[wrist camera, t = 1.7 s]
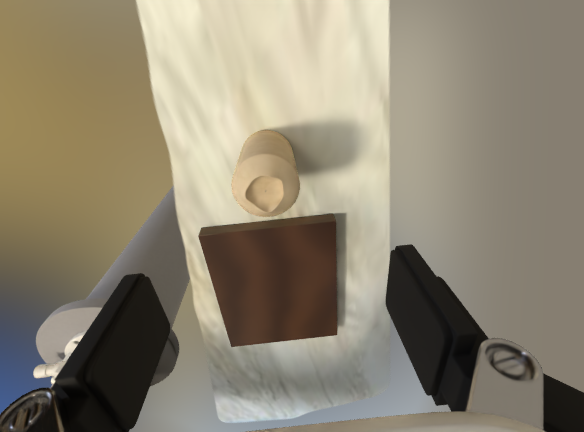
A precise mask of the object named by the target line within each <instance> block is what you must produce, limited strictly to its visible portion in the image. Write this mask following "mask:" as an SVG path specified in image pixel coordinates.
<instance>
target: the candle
mask: <svg viewBox="0 0 584 432" xmlns="http://www.w3.org/2000/svg"><path fill="white" fill-rule="evenodd" d="M299 190H300V182H299V177H298V173H297V168H296V164H295V160H294V155H293V151H292V148H291V145H290V144H289V142H288V141H287V139H286V138H285V137H283V136H282V135H281V134H279V133H277V132H274V131H270V130H263V131H258V132H256V133H254V134H252V135H251V136H250V137H249V138H248V139H247V140H246V141H245V143H244V145H243V147H242V150H241V152H240V156H239V159H238V162H237V165H236V168H235V171H234V174H233V178H232V192H233V195H234V198H235V199H236V201H237V202H238V204H239V205H240V206H241V207H242V208H243V209H244V210H246V211H247V212H249V213H251V214H254V215H257V216H262V217H270V216H276V215H279V214H281V213H283V212H285V211H287V210H288V209H289V208H290V207H291V206H292V205H293V204H294V203H295V201H296V199H297V197H298V194H299Z"/></svg>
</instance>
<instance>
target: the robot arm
mask: <svg viewBox="0 0 584 432" xmlns="http://www.w3.org/2000/svg"><path fill="white" fill-rule="evenodd" d="M386 307H387V310H388V312H389V314H390V316H391V319H392V320H393V323H394V325H395V327H396V330H397V332H398V334H399V336H400V338H401V341H402V343H403V345H404V347H405V349H406V352H407V354H408V356H409V358H410V360H411V363H412V365H413V367H414V369H415V371H416V374H417V376H418V378H419V380H420V383H421V384H422V387H423V389H424V391H425V393H426V394H427V395H432V397H433V400H434V401H435V404H436V405H437V406H438V405H447V404H448V406H449V408H450V410H451V412H431V413H420V414H408V415H397V416H385V417H376V418H367V419H357V420H348V421H338V422H329V423H319V424H311V425H301V426H293V427H283V428H274V429H265V430H256V431H247V432H584V393H583V392H581V391H579V390H577V389H575V388H573V387H571V386H568V385H566V384H564V383H562V382H560V381H558V380H556V379H554V378H552V377H550V376H547V375H545V374H543V371H542V367H541V366H540V364H539V362H538V361H537V359H536V358H535V357H534V356H533V355H532V354H531V353H530V352H529V351H527V350H526V349H524V348H523V347H522V346H520V345H518V344H516V343H514V342H512V341H509V340H505V339H500V338H491V339H488V337H487V336H486V335H485V333H484V332H483V331H482V329H481V328H480V327H479V325H478V324H477V323H476V322H475V320H474V319H473V318H472V316H471V315H470V314H469V312H468V311H467V310H466V308H465V307H464V306H463V305H462V303H461V302H460V301H459V299H458V298H457V297H456V295H455V294H454V293H453V291H452V290H451V289H450V287H449V286H448V285H447V284H446V282H445V281H444V280H443V279H442V278H441V277H436V275H435V274H434V273H433V271H432V270H431V269H430V267H429V266H428V265H427V264H426V262H425V261H424V259H423V258H422V257H421V255H420V254H419V253H418V251H417V250H416V249H415V247H414V246H413V245H402V246H396V248H395V250H392V251H391V255H390V264H389V273H388V283H387V292H386ZM169 333H170V323H169V321H168V319H167V316H166V314H165V312H164V310H163V307H162V305H161V303H160V301H159V298H158V296H157V294H156V292H155V289H154V287H153V285H152V283H151V280H150V279H149V277H145V275H144V274H141V273H140V274H131V275H126V276H124V277H123V279H122V280H121V282H120V283H119V284H118V286H117V287H116V289H115V290H114V292H113V293H112V295H111V296H110V298H109V299H108V301H107V302H106V304H105V305H104V307H103V308H102V310H101V311H100V313H99V314H98V316H97V317H96V319H95V320H94V322H93V323H92V325H91V326H90V327H89V329H88V330H87V331H83V332H81V333H78V334H77V335H75V336H74V337H73V338H72V339H71V340H70V341H69V342H68V344H67V345H66V347H65V358H64V359H63V360H60V361H58V362H57V363H54V364H53V363H49V364H40V365H38V366H37V367H36V368H35V370H34V377H35V378H42V377H49V376H53V377H52V379H51V383H52V384H53V385H52V387H51V388H39V389H36V390H32V391H30V392H28V393H26V394H25V395H22V396H21V397H20V398H18V399H17V400H15V401H14V402H13V403H11V404H10V405H9V406H8V407H7V408H6V409H5V410H4V411H3V412H2V413H1V414H0V432H129V430H130V429H132V428H133V427H134V426H135V424H136V422H137V419H138V417H139V414H140V411H141V409H142V406H143V403H144V401H145V398H146V395H147V392H148V389H149V387H150V384H151V382H152V379H153V376H154V374H155V371H156V368H157V366H158V363H159V360H160V357H161V355H162V352H163V349H164V347H165V344H166V341H167V339H168V336H169Z"/></svg>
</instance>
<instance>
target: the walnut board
mask: <svg viewBox="0 0 584 432" xmlns="http://www.w3.org/2000/svg"><path fill="white" fill-rule="evenodd" d="M199 240H200V243H201V246H202V250H203V253H204V256H205V260H206V263H207V266H208V270H209V273H210V277H211V280H212V283H213V287H214V290H215V293H216V297H217V300H218V303H219V307H220V310H221V314H222V317H223V320H224V324H225V327H226V330H227V334H228V337H229V340H230V344H231V347H235V346H244V345H253V344H262V343H271V342H280V341H289V340H297V339H306V338H315V337H324V336H333V335H337V270H336V220H335V218H334V215H333V214H327V215H318V216H308V217H299V218H290V219H280V220H271V221H262V222H252V223H243V224H234V225H224V226H215V227H206V228H201V231H200V233H199Z"/></svg>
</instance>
